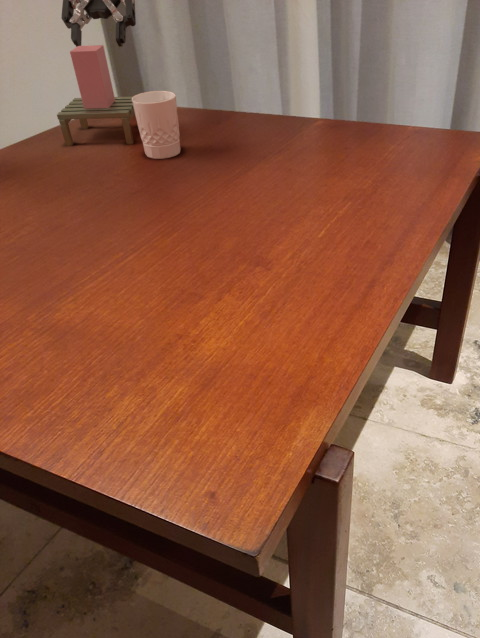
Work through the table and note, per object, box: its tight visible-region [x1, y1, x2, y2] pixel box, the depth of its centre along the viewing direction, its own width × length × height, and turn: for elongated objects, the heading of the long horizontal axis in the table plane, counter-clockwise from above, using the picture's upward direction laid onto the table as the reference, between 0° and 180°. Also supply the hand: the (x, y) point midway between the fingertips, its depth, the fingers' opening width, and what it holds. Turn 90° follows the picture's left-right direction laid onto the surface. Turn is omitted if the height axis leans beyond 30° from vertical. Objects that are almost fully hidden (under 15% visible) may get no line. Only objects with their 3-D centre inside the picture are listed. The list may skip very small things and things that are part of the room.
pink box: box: [69, 44, 116, 109], centre depth 108 cm, size 5×5×10 cm
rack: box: [56, 95, 135, 147], centre depth 113 cm, size 14×12×6 cm
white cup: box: [132, 90, 182, 160], centre depth 103 cm, size 8×8×10 cm
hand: (98, 44), depth 110 cm, fingers open, 8 cm apart
